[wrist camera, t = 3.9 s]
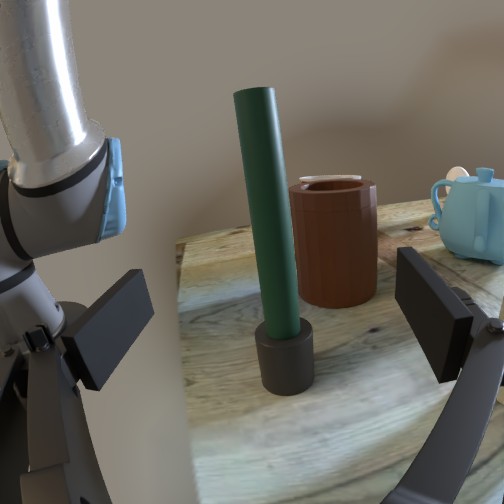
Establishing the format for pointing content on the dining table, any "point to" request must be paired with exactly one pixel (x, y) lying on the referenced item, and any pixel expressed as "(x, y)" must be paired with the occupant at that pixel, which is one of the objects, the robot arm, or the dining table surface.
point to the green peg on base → (273, 247)
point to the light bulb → (455, 175)
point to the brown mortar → (335, 241)
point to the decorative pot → (472, 216)
